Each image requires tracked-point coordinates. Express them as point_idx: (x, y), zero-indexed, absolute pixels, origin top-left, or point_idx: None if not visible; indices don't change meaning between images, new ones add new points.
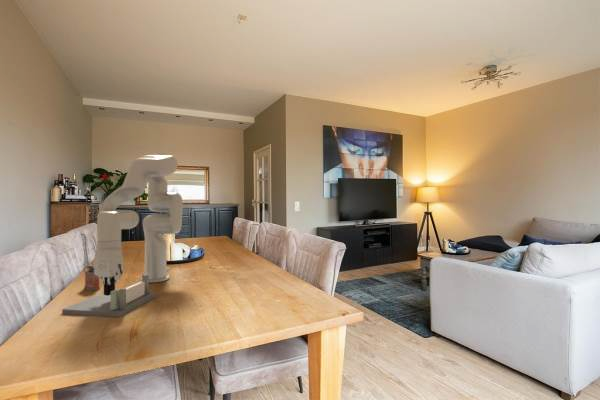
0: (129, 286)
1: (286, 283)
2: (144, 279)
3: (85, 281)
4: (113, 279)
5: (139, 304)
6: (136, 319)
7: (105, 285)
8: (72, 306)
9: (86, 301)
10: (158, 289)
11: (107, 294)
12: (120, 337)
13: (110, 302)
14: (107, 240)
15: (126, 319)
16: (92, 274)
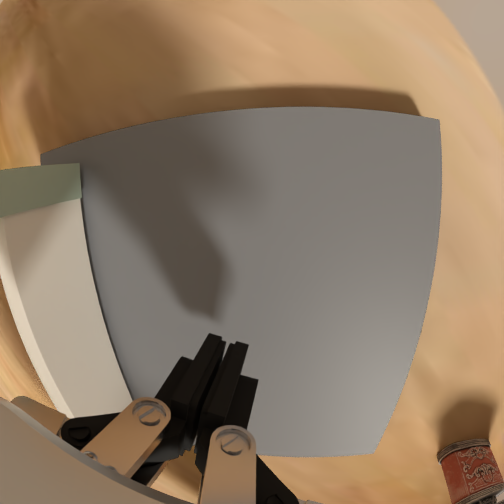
0: (52, 379)
1: None
2: None
3: (493, 459)
4: (68, 425)
5: None
6: (10, 162)
7: (204, 404)
8: (419, 181)
9: (396, 299)
10: (189, 474)
11: (205, 339)
12: (5, 51)
13: (47, 165)
14: None
15: (29, 147)
16: (476, 493)
